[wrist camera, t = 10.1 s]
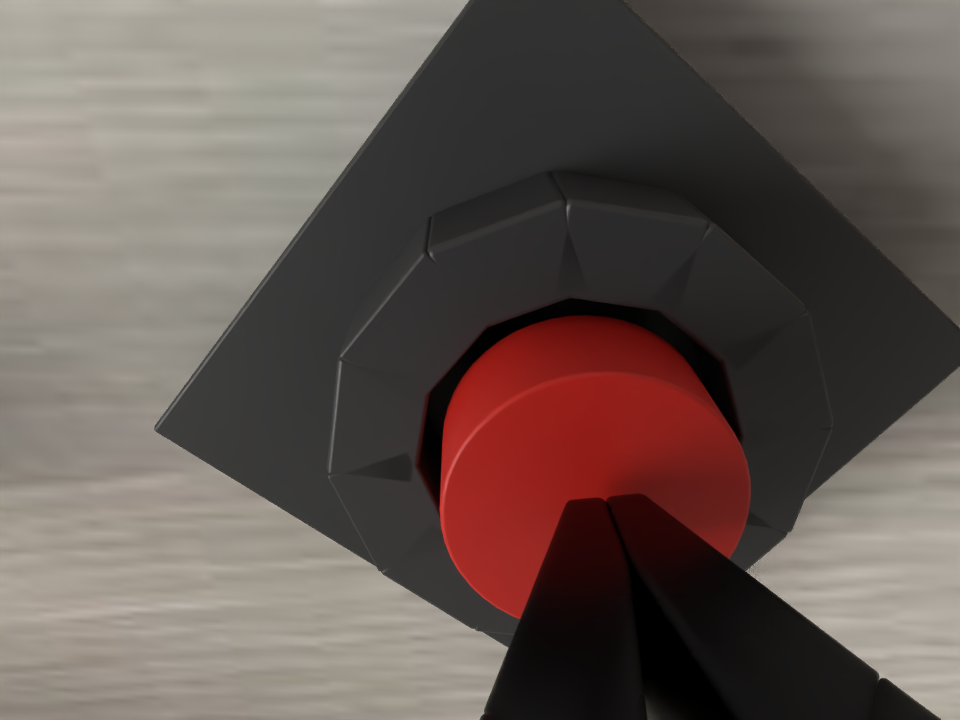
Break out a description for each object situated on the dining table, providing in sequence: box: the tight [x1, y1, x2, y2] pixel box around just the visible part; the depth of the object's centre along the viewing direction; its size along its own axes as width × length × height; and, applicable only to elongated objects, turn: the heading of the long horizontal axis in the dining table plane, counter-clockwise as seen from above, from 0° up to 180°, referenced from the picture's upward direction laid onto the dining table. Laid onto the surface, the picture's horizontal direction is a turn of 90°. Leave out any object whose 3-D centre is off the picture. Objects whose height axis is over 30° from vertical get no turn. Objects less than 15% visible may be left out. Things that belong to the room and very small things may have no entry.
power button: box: [440, 315, 751, 619], centre depth 10 cm, size 4×4×2 cm
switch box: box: [154, 0, 960, 648], centre depth 12 cm, size 9×9×4 cm
